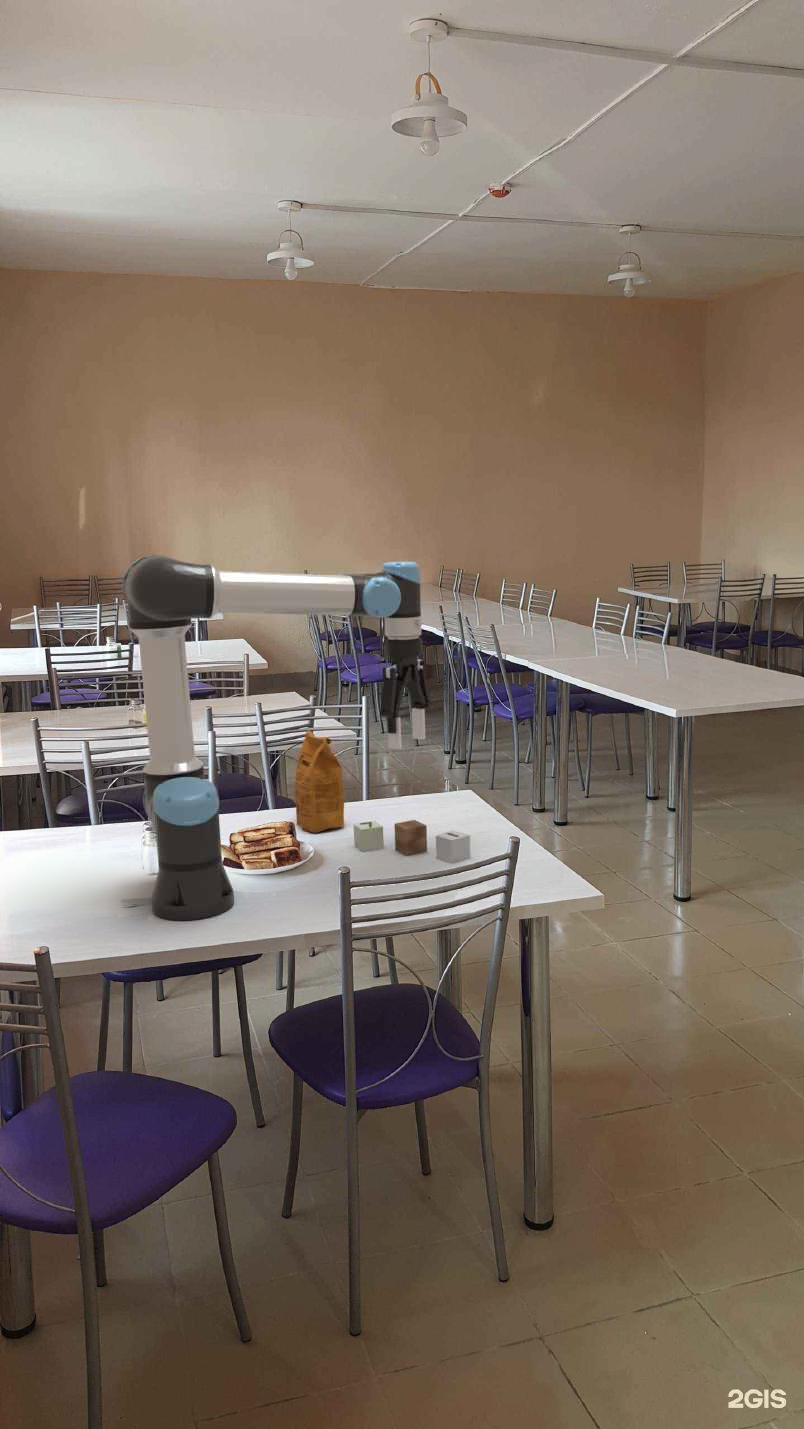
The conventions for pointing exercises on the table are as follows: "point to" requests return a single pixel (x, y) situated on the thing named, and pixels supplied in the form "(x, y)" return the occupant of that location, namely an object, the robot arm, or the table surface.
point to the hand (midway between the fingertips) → (407, 743)
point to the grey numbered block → (453, 846)
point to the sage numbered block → (368, 836)
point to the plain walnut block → (410, 838)
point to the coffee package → (318, 786)
